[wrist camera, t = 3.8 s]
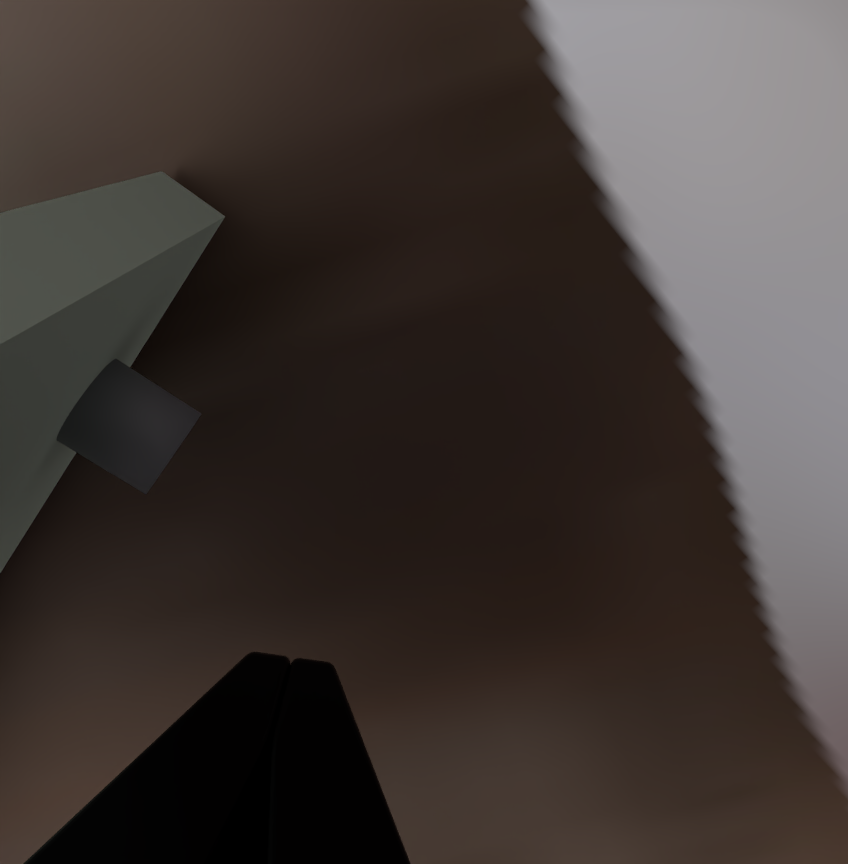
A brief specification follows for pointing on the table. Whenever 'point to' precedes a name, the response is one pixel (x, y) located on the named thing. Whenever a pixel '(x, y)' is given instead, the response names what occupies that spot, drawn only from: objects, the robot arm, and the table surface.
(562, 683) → the table surface
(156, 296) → the door
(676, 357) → the table surface
